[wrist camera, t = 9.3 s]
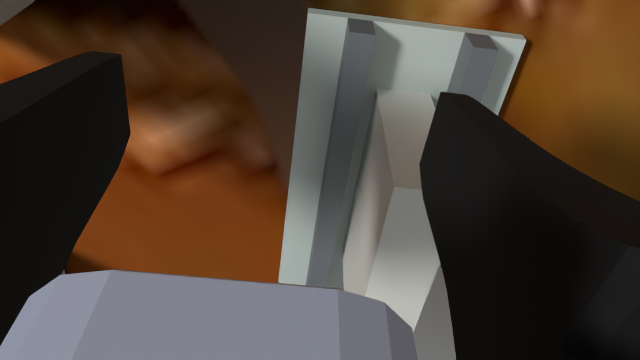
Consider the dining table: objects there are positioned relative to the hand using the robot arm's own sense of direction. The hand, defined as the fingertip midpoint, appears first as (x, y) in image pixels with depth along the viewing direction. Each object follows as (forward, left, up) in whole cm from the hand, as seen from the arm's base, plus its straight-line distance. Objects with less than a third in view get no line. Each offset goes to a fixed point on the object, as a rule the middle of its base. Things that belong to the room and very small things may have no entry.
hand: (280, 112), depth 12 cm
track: (+5, -9, -10) cm, 15 cm away
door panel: (+5, -9, -10) cm, 14 cm away
